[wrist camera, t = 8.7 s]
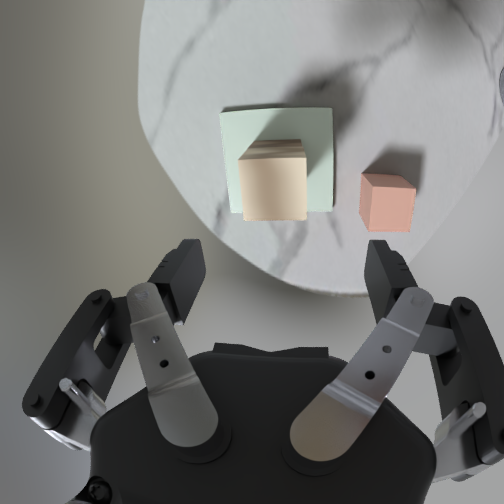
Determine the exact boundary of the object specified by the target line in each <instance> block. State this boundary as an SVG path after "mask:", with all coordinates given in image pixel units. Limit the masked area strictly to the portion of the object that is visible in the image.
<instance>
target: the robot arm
mask: <svg viewBox="0 0 504 504" xmlns="http://www.w3.org/2000/svg"><path fill="white" fill-rule="evenodd" d="M500 93H501V97H502V101H503V104H504V69H503V70H502V73H501V76H500ZM205 273H206V268H205V262H204V257H203V252H202V247H201V243H200V240H199V239H184V240H183V241H182V242H181V243H180V245H179V246H178V248H177V249H173V250H172V251H170V252H169V253H168V254H166V256H165V257H164V259H163V260H162V262H161V263H160V264H159V265H158V267H157V268H156V270H155V271H154V273H153V274H152V275H151V277H150V279H149V280H148V281H147V282H145V283H140V284H138V285H135V286H134V287H132V288H131V289H130V290H129V291H128V293H127V295H126V296H124V297H118V298H112V296H111V294H110V292H109V291H108V290H106V289H101V290H97V291H94V292H92V293H91V294H89V295H88V296H87V297H86V299H85V300H84V301H83V303H82V304H81V305H80V307H79V308H78V310H77V311H76V312H75V314H74V315H73V317H72V318H71V320H70V321H69V323H68V324H67V325H66V327H65V328H64V330H63V331H62V333H61V334H60V336H59V337H58V339H57V341H56V342H55V344H54V345H53V347H52V349H51V350H50V352H49V353H48V355H47V356H46V358H45V360H44V361H43V363H42V365H41V366H40V368H39V370H38V372H37V373H36V375H35V377H34V379H33V380H32V382H31V384H30V386H29V388H28V389H27V391H26V393H25V395H24V397H23V402H22V408H23V411H24V413H25V414H26V415H27V416H28V417H29V418H31V419H32V420H33V421H34V422H35V423H37V424H38V425H39V427H41V428H42V429H43V430H44V431H45V432H47V433H48V434H49V435H51V436H52V437H53V438H55V439H56V440H58V441H59V442H62V443H63V444H65V445H66V446H68V447H69V448H71V449H73V450H81V449H85V450H87V451H90V454H91V470H90V477H89V480H88V482H87V484H86V486H85V487H84V488H83V490H82V491H81V492H80V493H79V494H78V495H76V496H75V497H74V498H73V499H71V500H70V501H68V502H67V503H66V504H423V503H424V500H425V497H426V495H427V492H428V489H429V487H430V485H431V483H434V482H438V481H442V480H446V479H449V478H451V479H452V480H454V481H464V480H466V479H468V478H470V477H472V476H474V475H476V474H478V473H479V472H481V471H483V470H485V469H487V468H489V467H490V466H492V465H494V464H495V463H497V462H499V461H500V460H502V459H503V458H504V365H503V362H502V359H501V357H500V355H499V352H498V349H497V347H496V345H495V342H494V340H493V337H492V336H491V334H490V331H489V329H488V326H487V324H486V322H485V320H484V318H483V316H482V314H481V312H480V310H479V308H478V306H477V305H476V304H475V303H474V302H473V301H472V300H470V299H468V298H466V297H456V298H454V299H453V301H452V302H451V305H450V306H448V305H444V304H439V303H435V302H434V300H433V297H432V296H431V294H429V292H427V291H426V290H424V289H422V288H419V287H418V285H417V283H416V281H415V279H414V278H413V276H412V274H411V272H410V271H409V268H408V266H407V265H406V262H405V260H404V258H403V257H402V256H401V255H400V254H399V253H398V252H397V251H391V250H390V248H389V246H388V244H387V242H386V240H370V241H369V244H368V250H367V257H366V263H365V269H364V278H365V283H366V286H367V290H368V293H369V297H370V300H371V304H372V308H373V312H374V316H375V319H376V323H377V325H376V327H375V328H374V330H373V331H372V333H371V334H370V335H369V337H368V338H367V339H366V341H365V342H364V343H363V345H362V346H361V347H360V349H359V350H358V352H357V353H356V354H355V355H354V357H353V358H352V359H351V360H350V362H349V363H348V362H346V361H344V360H342V359H339V358H336V357H333V356H329V354H328V347H298V348H293V349H287V350H281V351H275V352H267V351H263V350H259V349H256V348H252V347H248V346H245V345H239V344H226V343H215V345H214V348H213V351H207V352H203V353H199V354H197V355H194V356H192V357H190V358H188V357H187V355H186V353H185V350H184V348H183V346H182V344H181V342H180V340H179V338H178V335H177V333H176V331H175V329H174V324H177V325H184V323H185V320H186V318H187V316H188V314H189V311H190V309H191V307H192V305H193V302H194V300H195V298H196V296H197V293H198V292H199V289H200V287H201V285H202V283H203V281H204V278H205ZM99 332H100V334H101V336H102V339H101V341H100V343H99V344H98V346H97V348H96V350H95V351H94V347H93V344H94V341H95V339H96V337H97V335H98V334H99ZM131 343H134V345H135V348H136V352H137V356H138V359H139V363H140V366H141V370H142V373H143V376H144V379H145V383H146V387H145V388H143V389H142V390H140V391H139V392H137V393H136V394H134V395H133V396H131V397H130V398H128V399H127V400H125V401H124V402H122V403H120V404H119V405H117V406H116V407H114V408H112V409H111V410H109V411H108V412H106V405H105V400H106V398H107V396H108V393H109V391H110V389H111V386H112V384H113V382H114V379H115V377H116V375H117V372H118V370H119V368H120V366H121V364H122V362H123V360H124V357H125V355H126V353H127V351H128V349H129V347H130V345H131ZM412 351H414V352H419V353H425V354H429V357H430V361H431V365H432V369H433V373H434V378H435V382H436V387H437V392H438V397H439V403H440V409H441V415H442V422H441V423H440V424H439V425H438V426H437V428H436V431H435V440H434V444H432V442H431V441H430V439H429V438H428V437H427V436H426V435H425V434H424V433H423V432H422V431H421V430H420V429H419V428H418V427H417V426H416V425H415V424H414V423H412V422H411V421H410V420H409V419H408V418H407V417H406V416H405V415H404V414H403V413H402V412H401V411H400V410H399V409H398V408H397V407H396V406H395V405H394V404H393V403H392V402H391V401H389V400H388V399H387V398H386V396H387V395H388V393H389V392H390V390H391V388H392V386H393V385H394V383H395V381H396V380H397V378H398V376H399V375H400V373H401V371H402V369H403V367H404V366H405V364H406V362H407V360H408V358H409V356H410V354H411V352H412Z"/></svg>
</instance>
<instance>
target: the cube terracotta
mask: <svg viewBox="0 0 504 504" xmlns="http://www.w3.org/2000/svg"><path fill="white" fill-rule="evenodd" d="M415 195H416V188H415V187H413V186H412V185H411V184H410V183H409V182H408V181H406V180H405V179H404V178H403V177H402V176H400V175H386V174H366V173H361V192H360V207H359V214H360V216H361V218H362V220H363V222H364V224H365V226H366V228H367V230H368V231H371V232H410V227H411V221H412V215H413V209H414V202H415Z"/></svg>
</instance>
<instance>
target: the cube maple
mask: <svg viewBox="0 0 504 504" xmlns="http://www.w3.org/2000/svg"><path fill="white" fill-rule="evenodd" d="M238 168H239V178H240V187H241V197H242V206H243V216H244V221H268V220H307V168H306V155H305V151H304V147H264V148H248V149H247V150H246V151H245V152H244V153H243V154H242V156H241V157H240V158H239V159H238Z"/></svg>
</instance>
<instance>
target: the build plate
mask: <svg viewBox="0 0 504 504" xmlns="http://www.w3.org/2000/svg"><path fill="white" fill-rule="evenodd" d="M219 117H220V126H221V134H222V143H223V152H224V160H225V168H226V176H227V185H228V193H229V201H230V208H231V213H243V206H242V197H241V187H240V178H239V168H238V159H239V158H240V157H241V156H242V154H243V153H244V152H245V151H246V150H247V148H248V147H249V146H250V145H251V144H252V143H253V142H254V141H261V140H285V139H301V142H302V147H304V151H305V155H306V168H307V212H332V205H333V117H332V108H320V107H299V108H270V109H254V110H242V111H232V112H223V113H219Z"/></svg>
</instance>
